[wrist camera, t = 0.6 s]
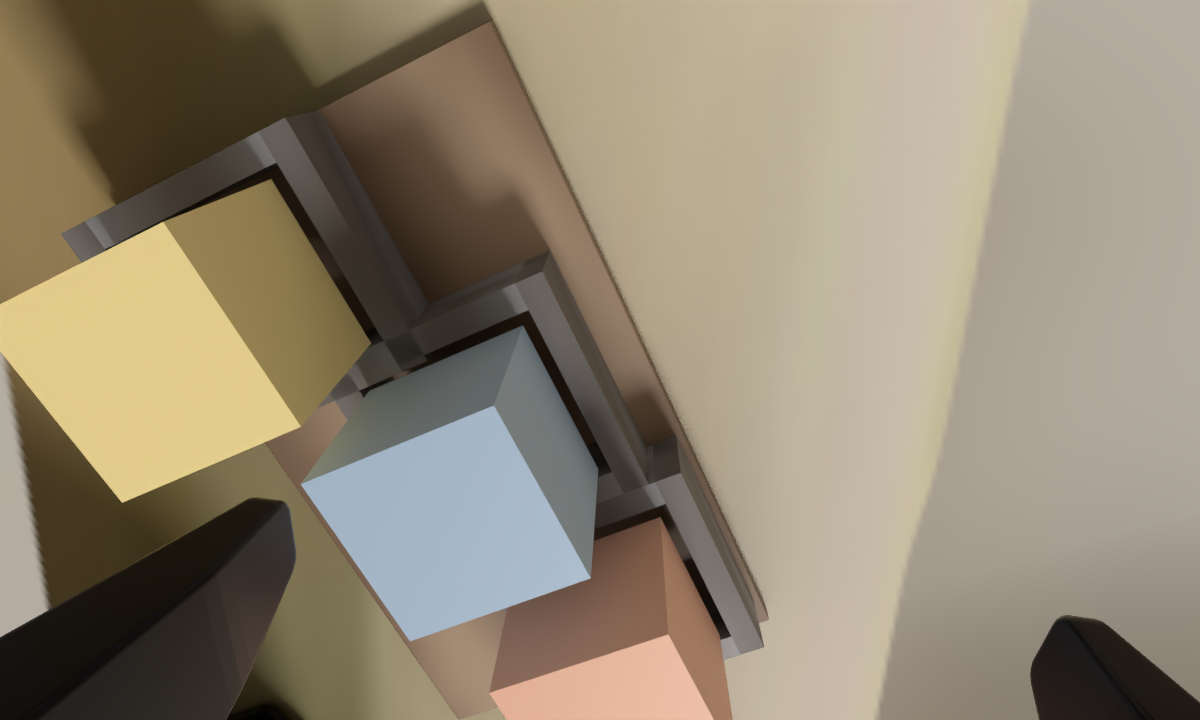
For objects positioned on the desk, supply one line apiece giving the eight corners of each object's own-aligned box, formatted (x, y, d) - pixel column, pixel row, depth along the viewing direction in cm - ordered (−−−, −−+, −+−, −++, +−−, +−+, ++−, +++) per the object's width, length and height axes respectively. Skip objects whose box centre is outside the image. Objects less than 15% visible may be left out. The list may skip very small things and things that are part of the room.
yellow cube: (225, 407, 22) (122, 502, 17) (118, 255, 20) (-27, 318, 15) (370, 343, 21) (300, 426, 16) (271, 179, 19) (163, 221, 15)
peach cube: (581, 679, 25) (571, 817, 21) (515, 569, 23) (489, 693, 19) (719, 635, 24) (739, 769, 20) (660, 517, 22) (668, 634, 18)
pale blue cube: (452, 524, 23) (410, 641, 18) (369, 391, 21) (300, 484, 17) (598, 469, 22) (590, 578, 17) (523, 325, 20) (493, 405, 16)
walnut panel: (461, 707, 30) (445, 770, 27) (120, 213, 22) (54, 236, 20) (766, 607, 27) (780, 667, 25) (493, 22, 20) (473, 19, 18)
